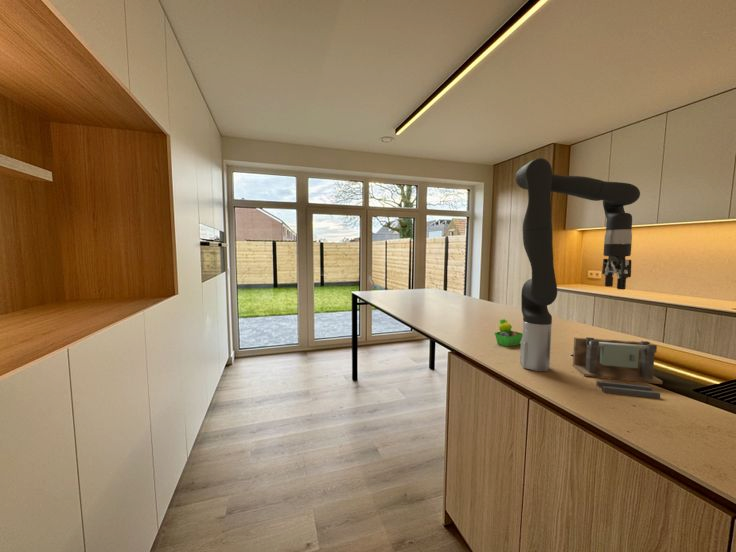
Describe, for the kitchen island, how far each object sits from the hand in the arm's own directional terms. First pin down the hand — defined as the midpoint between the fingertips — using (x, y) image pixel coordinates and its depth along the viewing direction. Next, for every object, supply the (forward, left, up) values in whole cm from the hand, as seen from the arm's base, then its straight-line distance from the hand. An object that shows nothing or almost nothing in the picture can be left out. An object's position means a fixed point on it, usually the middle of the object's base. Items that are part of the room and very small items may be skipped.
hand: (614, 287), depth 106 cm
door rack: (-4, -20, -30) cm, 36 cm away
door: (-1, -8, -26) cm, 27 cm away
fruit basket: (-31, +22, -30) cm, 49 cm away
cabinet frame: (-1, -6, -30) cm, 31 cm away
